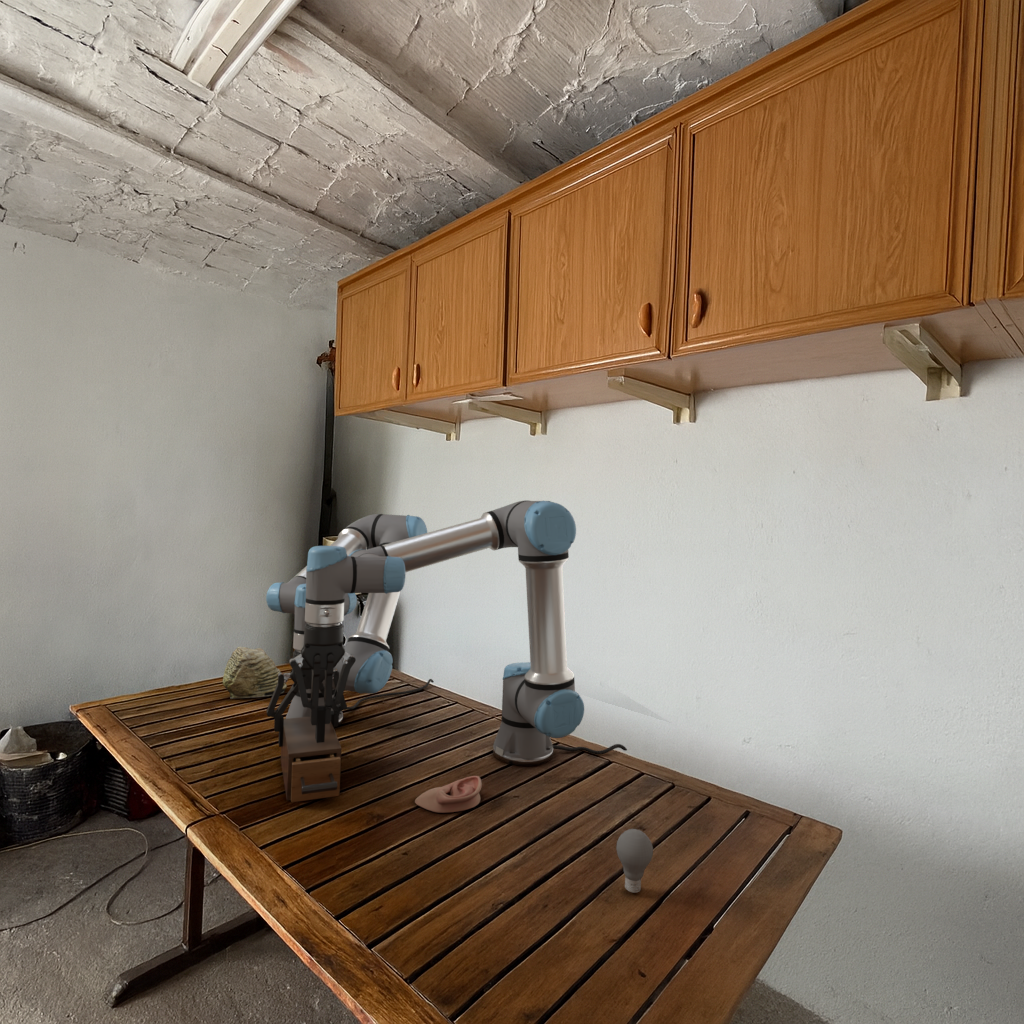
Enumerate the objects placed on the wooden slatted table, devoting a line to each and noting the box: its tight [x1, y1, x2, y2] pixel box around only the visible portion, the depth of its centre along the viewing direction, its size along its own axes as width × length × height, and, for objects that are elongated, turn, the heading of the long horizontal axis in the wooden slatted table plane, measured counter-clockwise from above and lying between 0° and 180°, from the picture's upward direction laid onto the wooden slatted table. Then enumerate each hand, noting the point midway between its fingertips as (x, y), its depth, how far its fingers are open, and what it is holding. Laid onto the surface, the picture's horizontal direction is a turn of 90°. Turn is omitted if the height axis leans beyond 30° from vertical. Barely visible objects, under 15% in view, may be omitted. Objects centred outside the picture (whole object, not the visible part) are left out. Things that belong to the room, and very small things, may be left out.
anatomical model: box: [414, 775, 483, 814], centre depth 134 cm, size 13×4×12 cm
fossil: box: [222, 646, 288, 699], centre depth 198 cm, size 9×18×15 cm, turn 132°
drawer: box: [290, 754, 342, 803], centre depth 137 cm, size 26×10×8 cm, turn 23°
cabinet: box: [280, 717, 342, 801], centre depth 143 cm, size 22×11×10 cm, turn 23°
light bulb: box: [615, 828, 654, 894], centre depth 106 cm, size 6×6×10 cm
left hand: (306, 742), depth 150 cm, fingers closed on cabinet, 11 cm apart
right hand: (319, 739), depth 127 cm, fingers closed
